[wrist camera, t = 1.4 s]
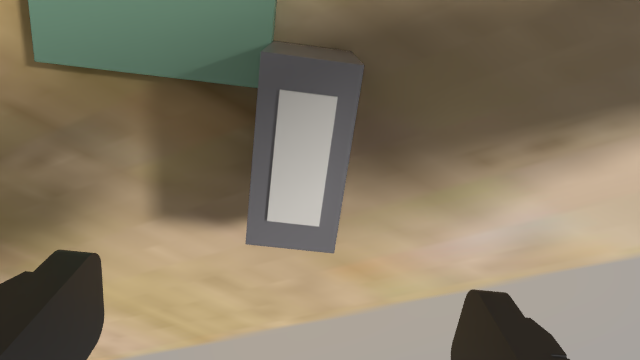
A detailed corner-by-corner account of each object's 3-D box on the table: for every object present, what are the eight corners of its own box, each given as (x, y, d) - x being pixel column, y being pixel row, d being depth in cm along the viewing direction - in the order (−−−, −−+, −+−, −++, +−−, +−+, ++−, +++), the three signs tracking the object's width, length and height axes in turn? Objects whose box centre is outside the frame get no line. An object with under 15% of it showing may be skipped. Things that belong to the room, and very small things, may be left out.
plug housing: (351, 51, 24) (364, 65, 18) (328, 198, 27) (334, 254, 21) (273, 40, 24) (260, 51, 17) (260, 191, 27) (245, 245, 21)
